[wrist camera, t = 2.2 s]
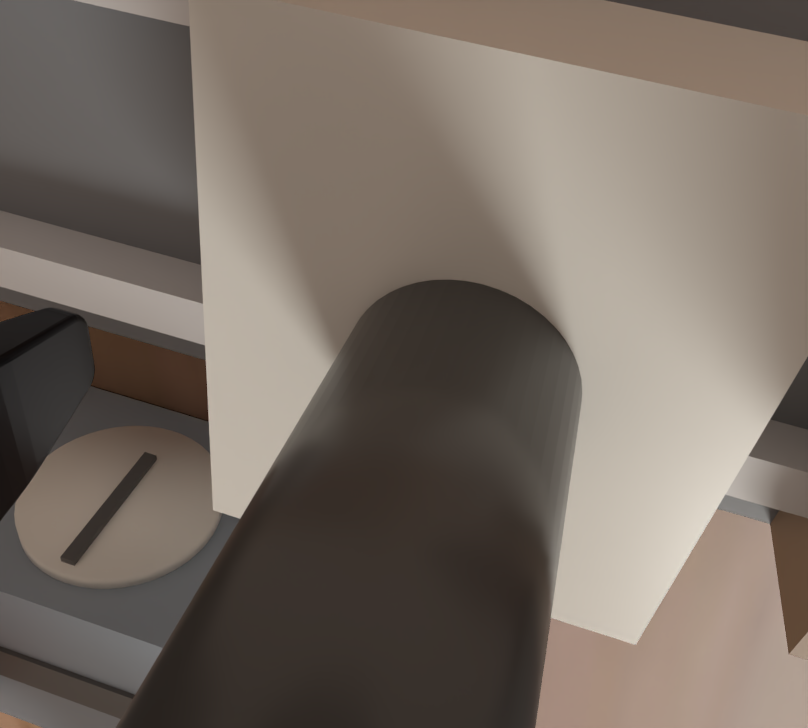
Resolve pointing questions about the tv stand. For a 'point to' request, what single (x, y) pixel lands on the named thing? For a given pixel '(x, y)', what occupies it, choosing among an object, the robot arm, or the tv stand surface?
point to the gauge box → (103, 560)
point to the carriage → (472, 340)
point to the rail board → (179, 215)
